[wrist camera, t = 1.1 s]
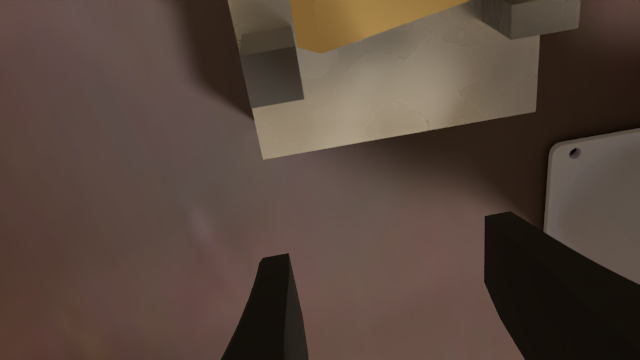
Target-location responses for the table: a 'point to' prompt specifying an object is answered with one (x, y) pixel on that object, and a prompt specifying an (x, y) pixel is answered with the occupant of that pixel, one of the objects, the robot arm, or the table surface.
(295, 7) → the golden yellow flat bar
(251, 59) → the lug
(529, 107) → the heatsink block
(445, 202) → the table surface
